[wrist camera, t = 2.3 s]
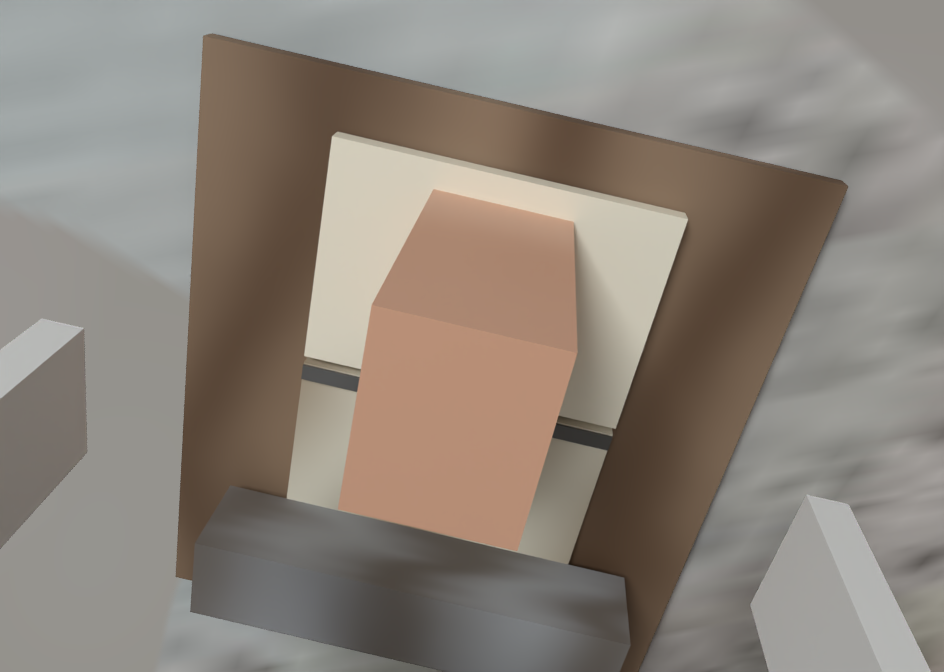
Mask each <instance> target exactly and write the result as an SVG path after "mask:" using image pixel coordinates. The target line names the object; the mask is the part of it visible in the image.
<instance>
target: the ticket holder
mask: <svg viewBox="0 0 944 672" xmlns="http://www.w3.org/2000/svg"><path fill="white" fill-rule="evenodd" d="M336 132H342V133H346V134H350V135H355V136H359V137H363V138H367V139H372V140H376V141H380V142H384V143H389V144H393V145H397V146H402V147H406V148H410V149H414V150H419V151H423V152H427V153H432V154H436V155H440V156H444V157H449V158H453V159H457V160H461V161H466V162H470V163H474V164H479V165H483V166H487V167H491V168H496V169H500V170H504V171H509V172H513V173H517V174H521V175H526V176H530V177H534V178H539V179H543V180H547V181H551V182H556V183H560V184H564V185H568V186H573V187H577V188H581V189H586V190H590V191H594V192H598V193H603V194H607V195H611V196H616V197H620V198H624V199H628V200H633V201H637V202H641V203H645V204H650V205H654V206H658V207H663V208H667V209H671V210H675V211H680V212H684V213H686V216H687V218H688V221H687V224H686V227H685V230H684V233H683V236H682V239H681V241H680V244H679V247H678V250H677V253H676V256H675V259H674V262H673V265H672V267H671V270H670V273H669V276H668V279H667V282H666V285H665V288H664V291H663V293H662V296H661V299H660V302H659V305H658V308H657V311H656V314H655V317H654V319H653V322H652V325H651V328H650V331H649V334H648V337H647V340H646V343H645V345H644V348H643V351H642V354H641V357H640V360H639V363H638V366H637V369H636V371H635V374H634V377H633V380H632V383H631V386H630V389H629V392H628V395H627V397H626V400H625V403H624V406H623V409H622V412H621V415H620V418H619V421H618V423H617V426H616V429H614V428H610V427H605V426H601V425H597V424H593V423H588V422H584V421H580V420H576V419H571V418H567V417H563V416H558V419H557V422H556V426H555V429H554V432H553V436H552V439H551V442H550V445H549V449H548V452H547V455H546V459H545V462H544V465H543V468H542V472H541V475H540V478H539V482H538V485H537V488H536V491H535V495H534V498H533V501H532V505H531V508H530V511H529V514H528V518H527V521H526V524H525V528H524V531H523V534H522V537H521V541H520V544H519V547H518V550H517V551H513V550H509V549H505V548H501V547H496V546H492V545H488V544H484V543H479V542H475V541H471V540H467V539H462V538H458V537H454V536H449V535H445V534H441V533H437V532H432V531H428V530H424V529H420V528H415V527H411V526H407V525H403V524H398V523H394V522H390V521H385V520H381V519H377V518H373V517H368V516H364V515H360V514H356V513H351V512H347V511H343V510H339V509H338V505H339V499H340V493H341V487H342V481H343V475H344V469H345V463H346V457H347V451H348V445H349V439H350V432H351V426H352V420H353V414H354V408H355V402H356V396H357V390H358V384H359V378H360V372H361V369H358V368H353V367H349V366H345V365H341V364H336V363H332V362H328V361H324V360H319V359H315V358H311V357H306V356H304V353H305V345H306V337H307V329H308V321H309V313H310V305H311V298H312V290H313V282H314V274H315V266H316V258H317V250H318V243H319V235H320V227H321V219H322V211H323V203H324V195H325V187H326V180H327V172H328V164H329V156H330V148H331V140H332V136H333V135H334V134H335V133H336ZM847 188H848V186H847V185H846V184H845V183H844V182H843V181H841V180H837V179H833V178H828V177H824V176H820V175H816V174H811V173H807V172H803V171H798V170H794V169H790V168H786V167H781V166H777V165H773V164H768V163H764V162H760V161H756V160H751V159H747V158H743V157H738V156H734V155H730V154H726V153H721V152H717V151H713V150H708V149H704V148H700V147H696V146H691V145H687V144H683V143H679V142H674V141H670V140H666V139H661V138H657V137H653V136H649V135H644V134H640V133H636V132H631V131H627V130H623V129H619V128H614V127H610V126H606V125H601V124H597V123H593V122H589V121H584V120H580V119H576V118H571V117H567V116H563V115H559V114H554V113H550V112H546V111H542V110H537V109H533V108H529V107H524V106H520V105H516V104H512V103H507V102H503V101H499V100H494V99H490V98H486V97H482V96H477V95H473V94H469V93H464V92H460V91H456V90H452V89H447V88H443V87H439V86H434V85H430V84H426V83H422V82H417V81H413V80H409V79H405V78H400V77H396V76H392V75H387V74H383V73H379V72H375V71H370V70H366V69H362V68H357V67H353V66H349V65H345V64H340V63H336V62H332V61H327V60H323V59H319V58H315V57H310V56H306V55H302V54H297V53H293V52H289V51H285V50H280V49H276V48H272V47H268V46H263V45H259V44H255V43H250V42H246V41H242V40H238V39H233V38H229V37H225V36H220V35H216V34H208V35H204V36H203V51H202V70H201V90H200V110H199V129H198V149H197V169H196V188H195V208H194V228H193V247H192V267H191V286H190V306H189V326H188V345H187V346H188V347H187V365H186V366H187V367H186V385H185V404H184V424H183V444H182V463H181V483H180V503H179V522H178V542H177V543H178V544H177V562H176V577H179V578H183V579H187V580H192V594H191V610H190V612H193V613H198V614H202V615H206V616H210V617H215V618H219V619H223V620H227V621H232V622H236V623H240V624H244V625H249V626H253V627H257V628H261V629H266V630H270V631H274V632H279V633H283V634H287V635H291V636H296V637H300V638H304V639H308V640H313V641H317V642H321V643H325V644H330V645H334V646H338V647H342V648H347V649H351V650H355V651H360V652H364V653H368V654H372V655H377V656H381V657H385V658H389V659H394V660H398V661H402V662H406V663H411V664H415V665H419V666H423V667H428V668H432V669H436V670H441V671H445V672H638V671H639V668H640V666H641V664H642V662H643V659H644V657H645V655H646V652H647V650H648V648H649V645H650V643H651V641H652V638H653V636H654V634H655V632H656V629H657V627H658V625H659V622H660V620H661V618H662V615H663V613H664V611H665V608H666V606H667V604H668V602H669V599H670V597H671V595H672V592H673V590H674V588H675V585H676V583H677V581H678V578H679V576H680V574H681V572H682V569H683V567H684V565H685V562H686V560H687V558H688V555H689V553H690V551H691V548H692V546H693V544H694V542H695V539H696V537H697V535H698V532H699V530H700V528H701V525H702V523H703V521H704V518H705V516H706V514H707V512H708V509H709V507H710V505H711V502H712V500H713V498H714V495H715V493H716V491H717V488H718V486H719V484H720V482H721V479H722V477H723V475H724V472H725V470H726V468H727V465H728V463H729V461H730V458H731V456H732V454H733V452H734V449H735V447H736V445H737V442H738V440H739V438H740V435H741V433H742V431H743V428H744V426H745V424H746V422H747V419H748V417H749V415H750V412H751V410H752V408H753V405H754V403H755V401H756V398H757V396H758V394H759V392H760V389H761V387H762V385H763V382H764V380H765V378H766V375H767V373H768V371H769V368H770V366H771V364H772V362H773V359H774V357H775V355H776V352H777V350H778V348H779V345H780V343H781V341H782V338H783V336H784V334H785V332H786V329H787V327H788V325H789V322H790V320H791V318H792V315H793V313H794V311H795V308H796V306H797V304H798V302H799V299H800V297H801V295H802V292H803V290H804V288H805V285H806V283H807V281H808V278H809V276H810V274H811V272H812V269H813V267H814V265H815V262H816V260H817V258H818V255H819V253H820V251H821V248H822V246H823V244H824V242H825V239H826V237H827V235H828V232H829V230H830V228H831V225H832V223H833V221H834V218H835V216H836V214H837V212H838V209H839V207H840V205H841V202H842V200H843V198H844V195H845V193H846V191H847Z"/></svg>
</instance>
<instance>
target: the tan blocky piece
mask: <svg viewBox="0 0 944 672" xmlns="http://www.w3.org/2000/svg"><path fill="white" fill-rule="evenodd" d="M687 221H688V218H687V216H686V213H684V212H680V211H675V210H671V209H667V208H663V207H658V206H654V205H650V204H645V203H641V202H637V201H633V200H628V199H624V198H620V197H616V196H611V195H607V194H603V193H598V192H594V191H590V190H586V189H581V188H577V187H573V186H568V185H564V184H560V183H556V182H551V181H547V180H543V179H539V178H534V177H530V176H526V175H521V174H517V173H513V172H509V171H504V170H500V169H496V168H491V167H487V166H483V165H479V164H474V163H470V162H466V161H461V160H457V159H453V158H449V157H444V156H440V155H436V154H432V153H427V152H423V151H419V150H414V149H410V148H406V147H402V146H397V145H393V144H389V143H384V142H380V141H376V140H372V139H367V138H363V137H359V136H355V135H350V134H346V133H342V132H336V133H335V134H334V135H333V136H332V140H331V148H330V156H329V164H328V172H327V180H326V187H325V195H324V203H323V211H322V219H321V227H320V235H319V243H318V250H317V258H316V266H315V274H314V282H313V290H312V298H311V305H310V313H309V321H308V329H307V337H306V345H305V353H304V356H306V357H311V358H315V359H319V360H324V361H328V362H332V363H336V364H341V365H345V366H349V367H353V368H358V369H361V372H360V378H359V384H358V390H357V396H356V402H355V408H354V414H353V420H352V426H351V432H350V439H349V445H348V451H347V457H346V463H345V469H344V475H343V481H342V487H341V493H340V499H339V505H338V509H339V510H343V511H347V512H351V513H356V514H360V515H364V516H368V517H373V518H377V519H381V520H385V521H390V522H394V523H398V524H403V525H407V526H411V527H415V528H420V529H424V530H428V531H432V532H437V533H441V534H445V535H449V536H454V537H458V538H462V539H467V540H471V541H475V542H479V543H484V544H488V545H492V546H496V547H501V548H505V549H509V550H513V551H517V550H518V547H519V544H520V541H521V537H522V534H523V531H524V528H525V524H526V521H527V518H528V514H529V511H530V508H531V505H532V501H533V498H534V495H535V491H536V488H537V485H538V482H539V478H540V475H541V472H542V468H543V465H544V462H545V459H546V455H547V452H548V449H549V445H550V442H551V439H552V436H553V432H554V429H555V426H556V422H557V419H558V416H563V417H567V418H571V419H576V420H580V421H584V422H588V423H593V424H597V425H601V426H605V427H610V428H614V429H616V426H617V423H618V421H619V418H620V415H621V412H622V409H623V406H624V403H625V400H626V397H627V395H628V392H629V389H630V386H631V383H632V380H633V377H634V374H635V371H636V369H637V366H638V363H639V360H640V357H641V354H642V351H643V348H644V345H645V343H646V340H647V337H648V334H649V331H650V328H651V325H652V322H653V319H654V317H655V314H656V311H657V308H658V305H659V302H660V299H661V296H662V293H663V291H664V288H665V285H666V282H667V279H668V276H669V273H670V270H671V267H672V265H673V262H674V259H675V256H676V253H677V250H678V247H679V244H680V241H681V239H682V236H683V233H684V230H685V227H686V224H687Z"/></svg>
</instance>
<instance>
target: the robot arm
mask: <svg viewBox="0 0 944 672" xmlns="http://www.w3.org/2000/svg"><path fill="white" fill-rule="evenodd" d="M84 345H85V344H84V328H81V327H76V326H72V325H68V324H63V323H59V322H54V321H50V320H46V319H40V320H39V321H38V322H37V323H35V324H34V325H33V326H31V327H30V328H29V329H27V330H26V331H25V332H23V333H22V334H21V335H19V336H18V337H17V338H15V339H14V340H13V341H11V342H10V343H9V344H7V345H6V346H5V347H3V348H2V349H1V350H0V549H1V548H2V546H3V545H4V544H5V543H6V542H7V541H8V540H9V538H10V537H11V536H12V535H13V534H14V533H15V532H16V531H17V530H18V529H19V528H20V526H21V525H22V524H23V523H24V522H25V521H26V520H27V519H28V518H29V516H30V515H31V514H32V513H33V512H34V511H35V510H36V509H37V508H38V506H39V505H40V504H41V503H42V502H43V501H44V500H45V499H46V498H47V496H48V495H49V494H50V493H51V492H52V491H53V490H54V488H56V486H57V485H58V484H59V483H60V482H61V481H62V480H63V479H64V478H65V476H66V475H67V474H68V473H69V472H70V471H71V470H72V469H73V467H75V465H76V464H77V463H78V462H79V461H80V460H81V459H82V457H84V455H85V454H86V453H87V422H86V384H85V348H84V347H85V346H84ZM750 606H751V609H752V613H753V616H754V620H755V624H756V627H757V631H758V635H759V638H760V642H761V645H762V649H763V653H764V656H765V660H766V664H767V667H768V671H769V672H931V671H930V669H929V667H928V665H927V663H926V661H925V659H924V657H923V655H922V653H921V651H920V649H919V647H918V645H917V643H916V640H915V638H914V636H913V634H912V632H911V630H910V628H909V626H908V624H907V622H906V620H905V618H904V616H903V614H902V612H901V610H900V608H899V606H898V604H897V602H896V600H895V598H894V596H893V594H892V592H891V590H890V588H889V586H888V584H887V582H886V580H885V578H884V576H883V573H882V571H881V569H880V567H879V565H878V563H877V561H876V559H875V557H874V555H873V553H872V551H871V549H870V547H869V545H868V543H867V541H866V539H865V537H864V535H863V533H862V531H861V529H860V527H859V525H858V523H857V521H856V519H855V517H854V515H853V513H852V511H851V509H850V507H849V504H845V503H841V502H837V501H832V500H828V499H824V498H819V497H815V496H811V495H806V496H805V498H804V500H803V502H802V504H801V506H800V508H799V510H798V512H797V514H796V516H795V518H794V520H793V522H792V524H791V526H790V528H789V530H788V532H787V534H786V535H785V537H784V539H783V541H782V543H781V545H780V547H779V549H778V551H777V553H776V555H775V557H774V559H773V561H772V563H771V565H770V567H769V569H768V571H767V573H766V575H765V577H764V579H763V581H762V582H761V584H760V586H759V588H758V590H757V592H756V594H755V596H754V598H753V600H752V602H751V604H750Z"/></svg>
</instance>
